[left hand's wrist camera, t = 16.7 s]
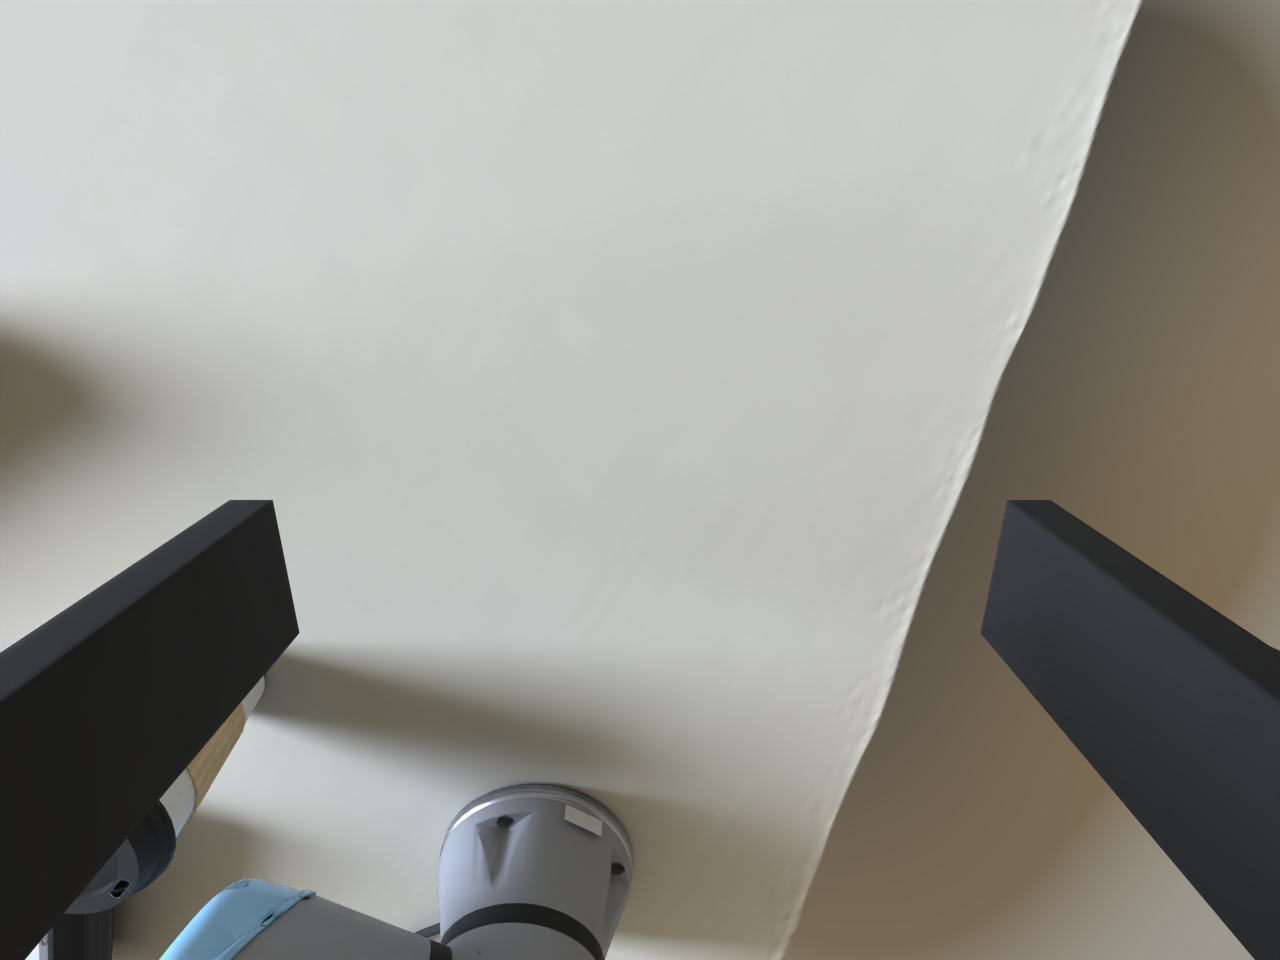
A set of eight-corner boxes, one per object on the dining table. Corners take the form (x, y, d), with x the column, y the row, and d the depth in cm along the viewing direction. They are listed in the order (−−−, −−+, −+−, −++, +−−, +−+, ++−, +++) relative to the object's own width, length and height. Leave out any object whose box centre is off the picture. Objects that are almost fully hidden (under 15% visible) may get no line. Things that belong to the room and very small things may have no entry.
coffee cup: (192, 591, 47) (1, 748, 33) (316, 670, 49) (186, 848, 35) (127, 682, 50) (-77, 862, 35) (247, 753, 52) (100, 949, 38)
